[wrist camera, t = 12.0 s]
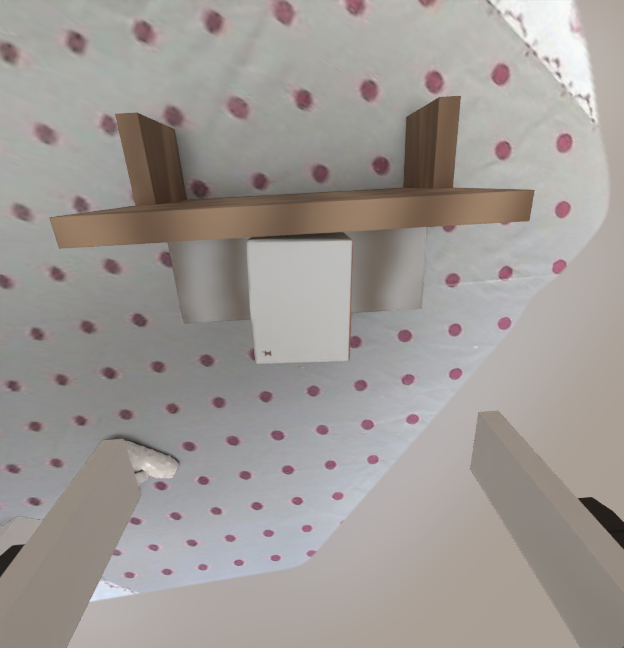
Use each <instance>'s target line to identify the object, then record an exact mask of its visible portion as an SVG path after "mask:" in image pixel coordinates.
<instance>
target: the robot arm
mask: <svg viewBox="0 0 624 648" xmlns="http://www.w3.org/2000/svg"><path fill="white" fill-rule="evenodd" d="M470 470H471V471H472V473H473V475H474V476H475V478H476V479H477V481H478V483H479V484H480V486H481V488H482V489H483V491H484V492H485V494H486V496H487V497H488V499H489V501H490V502H491V504H492V506H493V507H494V509H495V510H496V512H497V514H498V515H499V517H500V519H501V520H502V522H503V523H504V525H505V527H506V528H507V530H508V532H509V533H510V535H511V536H512V538H513V540H514V541H515V543H516V544H517V546H518V548H519V549H520V551H521V553H522V554H523V556H524V557H525V559H526V561H527V562H528V564H529V566H530V567H531V569H532V570H533V572H534V574H535V575H536V577H537V579H538V580H539V582H540V583H541V585H542V587H543V588H544V590H545V592H546V593H547V595H548V596H549V598H550V599H551V601H552V603H553V605H554V606H555V608H556V609H557V611H558V613H559V614H560V616H561V617H562V619H563V621H564V622H565V624H566V626H567V627H568V629H569V631H570V632H571V634H572V635H573V637H574V639H575V640H576V642H577V644H578V645H579V647H580V648H624V522H623V521H622V520H621V519H620V518H619V517H618V516H617V515H616V514H615V513H614V512H613V511H612V510H610V509H609V508H607V507H606V506H604V505H602V504H601V503H600V502H598V501H597V500H595V499H594V498H592V497H587V498H577V497H576V496H575V495H574V494H573V493H572V492H571V491H570V489H569V488H568V487H567V486H566V485H565V484H564V483H563V482H562V481H561V479H560V478H559V477H558V476H557V475H556V474H555V473H554V472H553V471H552V469H550V467H549V466H548V465H547V464H546V463H545V462H544V461H543V459H541V457H540V456H539V455H538V454H537V453H536V452H535V451H534V449H533V448H532V447H531V446H530V445H529V444H528V443H527V442H526V441H525V440H524V438H523V437H522V436H521V435H520V434H519V433H518V432H517V431H516V430H515V428H514V427H513V426H512V425H511V424H510V423H509V422H508V421H507V419H506V418H505V417H504V416H503V415H502V414H501V413H500V412H499V411H488V412H478V418H477V425H476V433H475V440H474V446H473V453H472V460H471V467H470ZM140 497H141V492H140V489H139V486H138V483H137V479H136V476H135V473H134V470H133V467H132V463H131V460H130V457H129V454H128V451H127V447H126V444H125V441H124V439H113V440H102V442H101V443H100V444H99V446H98V447H97V448H96V450H95V451H94V452H93V454H92V455H91V456H90V458H89V459H88V460H87V462H86V463H85V464H84V466H83V467H82V469H81V470H80V471H79V473H78V474H77V475H76V477H75V478H74V479H73V481H72V482H71V483H70V485H69V486H68V487H67V489H66V490H65V491H64V493H63V494H62V495H61V497H60V498H59V499H58V501H57V502H56V503H55V505H54V506H53V507H52V509H51V510H50V511H49V513H48V514H47V515H46V517H45V518H44V520H43V521H42V522H41V524H40V525H39V526H38V528H37V529H36V530H35V532H34V533H33V534H32V536H31V537H30V538H29V540H28V541H27V542H26V544H21V545H12V546H11V547H10V548H9V549H7V550H6V551H5V552H4V553H3V554H2V555H0V648H67V646H68V644H69V642H70V640H71V638H72V636H73V634H74V632H75V630H76V628H77V626H78V624H79V622H80V620H81V617H82V615H83V613H84V611H85V609H86V607H87V605H88V603H89V601H90V599H91V597H92V595H93V593H94V591H95V589H96V587H97V585H98V583H99V581H100V579H101V577H102V575H103V573H104V570H105V568H106V566H107V564H108V562H109V560H110V558H111V556H112V554H113V552H114V550H115V548H116V546H117V544H118V542H119V540H120V538H121V536H122V534H123V532H124V530H125V528H126V526H127V523H128V521H129V519H130V517H131V515H132V513H133V511H134V509H135V507H136V505H137V503H138V501H139V499H140Z"/></svg>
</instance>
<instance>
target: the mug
mask: <svg viewBox="0 0 624 648" xmlns="http://www.w3.org/2000/svg"><path fill="white" fill-rule="evenodd" d="M42 521H43V520H38V519H31V518H24V517H16V518H14V519H13V520H11V521H9V522H8V523H6V524H4V525H2V526H1V527H0V555H2V554H3V553H4V552H5V551H6V550H7V549H9V548H10V547H11V546H12V545H21V544H26V542H27V541H28V540H29V538H30V537H31V536H32V534H33V533H34V532H35V530H36V529H37V528H38V526H39V525H40V524H41V522H42Z"/></svg>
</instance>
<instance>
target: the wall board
mask: <svg viewBox="0 0 624 648" xmlns="http://www.w3.org/2000/svg"><path fill="white" fill-rule="evenodd" d="M460 99H461V96H451V97H439V98H437V99H436V100H434V101H432V102H431V103H429V104H427V105H426V106H424V107H422V108H421V109H419V110H417V111H416V112H414V113H412V114H411V115H409V116H407V117H406V142H405V166H404V188H389V189H372V190H354V191H336V192H318V193H301V194H283V195H265V196H248V197H230V198H212V199H194V200H187V199H186V193H185V188H184V182H183V176H182V170H181V165H180V159H179V153H178V147H177V141H176V136H175V130H174V129H173V128H170V127H168V126H166V125H164V124H161V123H159V122H157V121H155V120H152V119H150V118H148V117H146V116H143V115H141V114H139V113H123V114H115V115H116V120H117V124H118V129H119V133H120V138H121V142H122V147H123V151H124V155H125V160H126V164H127V169H128V173H129V178H130V182H131V187H132V191H133V195H134V200H135V204H136V206H130V207H122V208H115V209H108V210H101V211H93V212H86V213H79V214H72V215H64V216H57V217H50V221H51V225H52V228H53V231H54V234H55V237H56V240H57V244H58V247H59V248H76V247H93V246H110V245H127V244H145V243H162V242H168V246H169V251H170V256H171V261H172V266H173V271H174V276H175V281H176V286H177V291H178V296H179V301H180V306H181V311H182V316H183V321H184V323H199V322H215V321H231V320H246V319H251V314H250V300H249V281H248V265H247V246H246V245H247V241H248V240H249V239H250V237H264V236H281V235H298V234H315V233H332V232H344V233H345V234H346V235H347V236H348V237H349V238H350V239H352V241H353V264H352V299H351V313H358V312H374V311H390V310H405V309H421V308H422V295H423V280H424V265H425V250H426V235H427V227H435V226H452V225H469V224H486V223H503V222H520V221H529V219H530V214H531V208H532V202H533V196H534V190H519V189H481V188H453V178H454V167H455V155H456V144H457V133H458V122H459V110H460Z"/></svg>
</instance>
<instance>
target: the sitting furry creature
mask: <svg viewBox="0 0 624 648" xmlns="http://www.w3.org/2000/svg"><path fill="white" fill-rule="evenodd" d="M125 444H126V447H127V451H128V454H129V457H130V460H131V463H132V467H133V470H134V473H135V476H136V479H137V483H138V486H140V484H141V483H143V482H144V481H145V480H146V479H148V478H149V476H151V477H155V478H156V479H157V478H172V477H173V475H174V474H175V472H176V470H177V468H178V466H179V463H178V462H177V461H176V460H175V459H173V458H172V457H171V455H169V456H167V455H164V454H163V453H160V452H157V451H155V450H153V449H149V448H146V447H144V446H140V445H137V444H135V443H133V442H131V441H125Z"/></svg>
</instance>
